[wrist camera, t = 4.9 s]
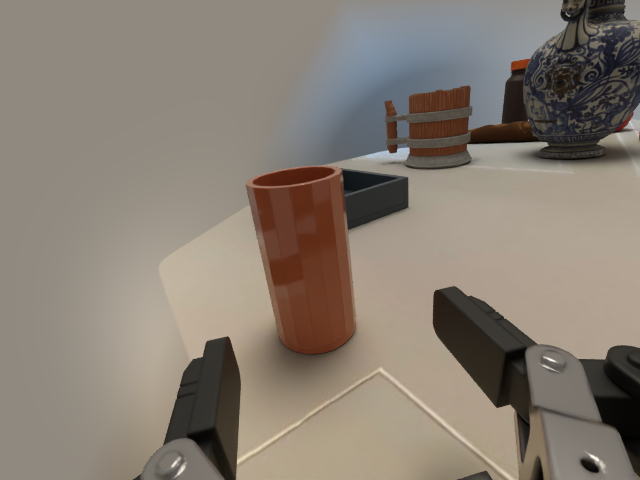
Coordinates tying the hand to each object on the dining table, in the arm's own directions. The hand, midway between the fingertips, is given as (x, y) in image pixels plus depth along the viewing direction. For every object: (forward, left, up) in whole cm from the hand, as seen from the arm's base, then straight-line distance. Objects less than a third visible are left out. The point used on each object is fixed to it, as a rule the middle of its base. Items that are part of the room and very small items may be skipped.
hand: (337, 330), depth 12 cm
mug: (+54, +40, -7) cm, 68 cm away
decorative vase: (+70, +18, -7) cm, 73 cm away
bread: (+85, +37, -7) cm, 93 cm away
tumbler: (+3, +8, -7) cm, 11 cm away
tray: (+19, +29, -7) cm, 36 cm away
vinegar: (+98, +43, -7) cm, 108 cm away
